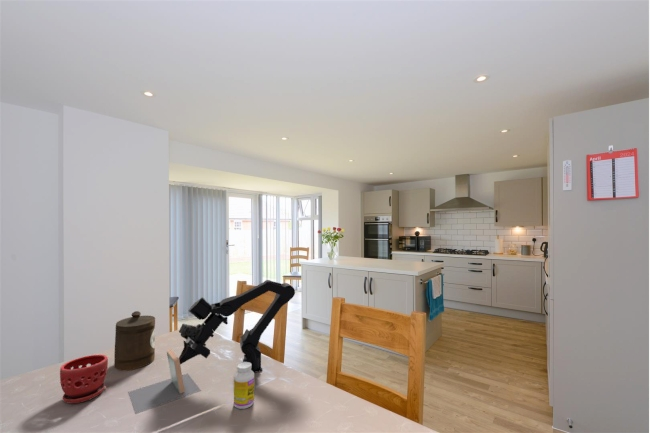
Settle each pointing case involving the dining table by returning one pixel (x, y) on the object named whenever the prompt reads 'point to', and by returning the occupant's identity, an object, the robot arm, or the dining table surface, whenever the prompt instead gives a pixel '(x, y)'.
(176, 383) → the tile
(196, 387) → the mat
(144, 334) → the wooden container
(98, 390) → the plant pot
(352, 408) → the dining table surface
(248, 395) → the supplement bottle
